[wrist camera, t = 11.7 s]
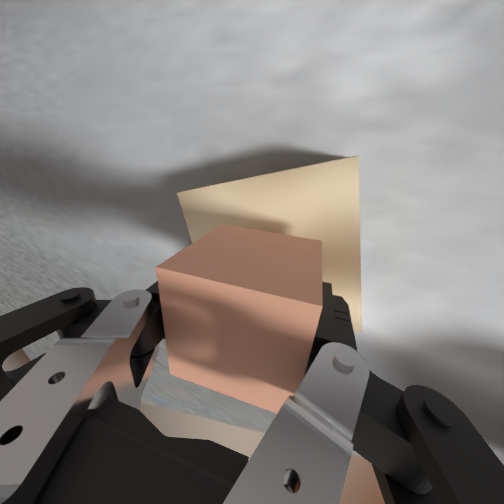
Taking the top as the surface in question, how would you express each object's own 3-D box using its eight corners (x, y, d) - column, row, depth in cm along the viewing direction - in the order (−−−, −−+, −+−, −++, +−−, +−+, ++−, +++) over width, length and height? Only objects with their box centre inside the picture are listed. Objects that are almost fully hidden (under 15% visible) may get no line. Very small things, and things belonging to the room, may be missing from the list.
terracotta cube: (222, 224, 11) (155, 267, 7) (321, 240, 10) (322, 306, 5) (221, 301, 13) (170, 374, 9) (302, 323, 12) (292, 419, 7)
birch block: (213, 184, 17) (176, 192, 13) (346, 157, 14) (358, 155, 9) (239, 289, 21) (217, 324, 16) (351, 288, 17) (361, 332, 13)
